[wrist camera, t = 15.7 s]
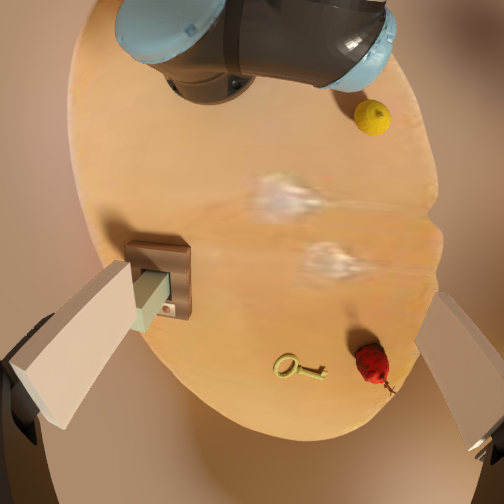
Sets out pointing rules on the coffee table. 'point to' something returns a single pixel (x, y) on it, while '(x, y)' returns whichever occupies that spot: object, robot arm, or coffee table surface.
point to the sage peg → (150, 297)
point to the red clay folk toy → (373, 364)
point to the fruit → (372, 117)
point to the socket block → (167, 261)
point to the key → (296, 369)
